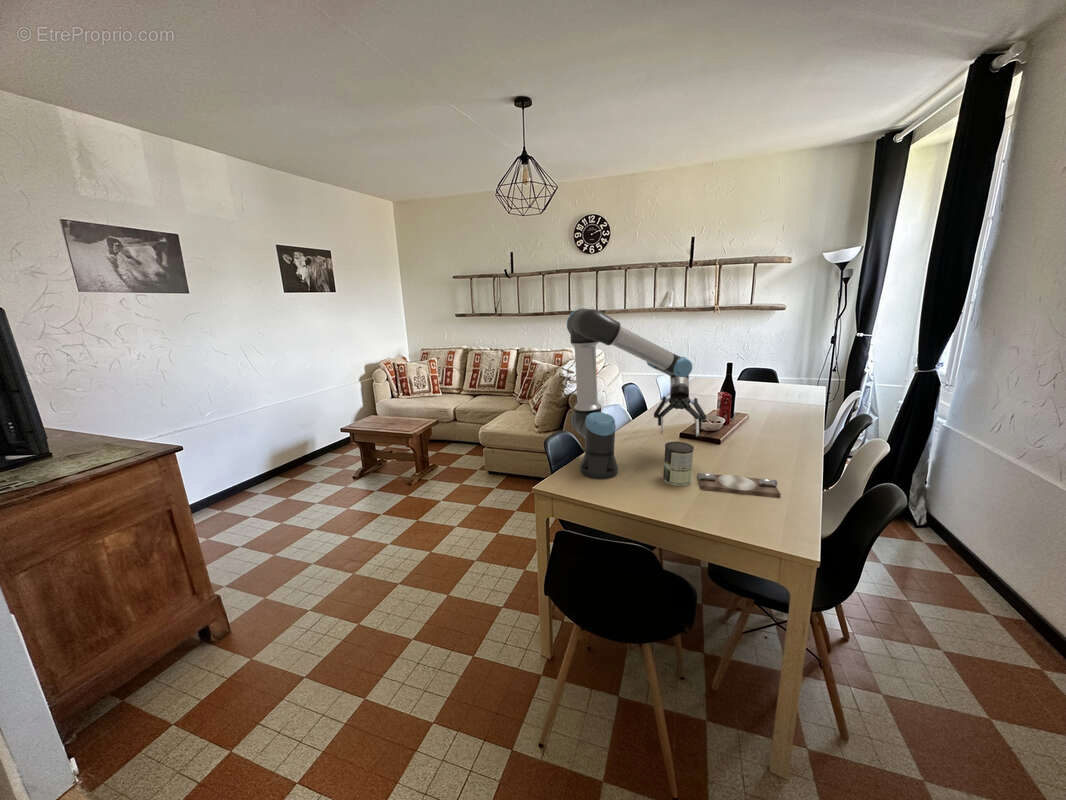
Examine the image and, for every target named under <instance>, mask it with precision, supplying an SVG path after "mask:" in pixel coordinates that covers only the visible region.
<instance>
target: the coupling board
mask: <svg viewBox="0 0 1066 800" xmlns="http://www.w3.org/2000/svg"><path fill="white" fill-rule="evenodd" d="M699 473H700V472H697V473H696V474H697V476H696V478H697V480H698V484H699V489H700V490H701V491H703V490H704V491H711V492H712V491H713V492H720V493H721V492H723V493H730V494H731V493H733V494H739V495H740V494H742V495H749V496H750V495H751V496H758V497H759V496H761V497H770V498H779V499H780V498H781V492H780V490H779V488H777V487H773V486H763V485H759V479H760V478H757V477H756V478H755V477H746V476H742V475H741V476H740V475H734V474H716V473H715V475H716V479H715V481H712V480H702V479H699Z"/></svg>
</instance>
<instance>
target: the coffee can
mask: <svg viewBox="0 0 1066 800" xmlns="http://www.w3.org/2000/svg"><path fill="white" fill-rule="evenodd" d="M694 449H695V447H694V445H693V444H691V443H688V442H685V441H684V442H683V441H668V442H667V443H665V444H664V459H663V460H664V462H663V474H662V476H663V477H662V480H663V482H665V483H666V484H668V485H672V486H676V487H685V486H688V485H690V484H691V482H692V479H691V478H692V469H693V468H692V467H693V457H694Z"/></svg>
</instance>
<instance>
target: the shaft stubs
mask: <svg viewBox="0 0 1066 800" xmlns="http://www.w3.org/2000/svg"><path fill="white" fill-rule="evenodd" d="M698 473H699V479H702V480H712V481H715V479H716V475H717V474H716V473H715V474H716V475H715V474H714V473H706V472H704V473H703V472H698ZM758 479H759V485H763V486H773V487H776V488H777V487H778V480H777V479H768V478H758Z"/></svg>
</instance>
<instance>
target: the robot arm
mask: <svg viewBox="0 0 1066 800" xmlns="http://www.w3.org/2000/svg"><path fill="white" fill-rule="evenodd" d="M566 329H567V332H568V333H569V336H570V344H571V345H572V346H573V348H574V359H575V360H574V363H575V384H576V400H577V401H576V403H575V405H574V406H573V413H572V416H571V426H572V427H573V429H574V430H575V432H576V433H578V434H579V435H580V436H581V437H582V438H583V439H584V455H583V458H582V460H581V463H580V473H581V474H582V475H583V476H585V477H587V478H592V479H598V480H604V479H605V480H606V479H611V478H614V477H616V476H618V473H619V467H618V463H617V460H616V456H615V444H616V443H615V441H616V439H615V438H616V426H617V425H616V420H615V418H614V416H612V415H611V414H608V413H605V412H602V405H601V404H600V403H599V402H598V381H597V380H598V379H597V377H598V376H597V352H596V347H597V345H598V344H599V343H601V344H603V345H606V346H608V347H609V346H614V347H615V348H618V349H620V350H622V351H624V352H626V353H628V354H629V355H632V356H634V357H636V358H638V359H640V360H643V361H645V363H646V365H647V366H648V367H650V368H652V369H655V370H657V371H659V372H661V373H663V374H666V375H668V376H669V377H670V378H669V379H670V391H669V398H668V397H666V396H662V400H661V402H660V403H659V405H657V408H656V409H655V411H654V412H653V418H656V419H657V426H660V435H662V434H663V433H664V432H663V431H664V416H666V415H667V414H668V413H669V412H670V411H672V410H673V409H675V410H686V411H687V412H688V413H689V414H690V415H691V416H692V417H693V418H694V419H695V420H696V421H695V437H699V435H700V429H701V428H702V425H703V423H702V422H704V421H706V419H707V415H706V414H705V411H704V409H702V407H701V405H700V404H699V401H698V398H697V397H694V398H693V399H692V398H691V399H690V374H691V373H692V372H693V371H692V370H693V363H692V362H691V360H690V359H688V358H687V357H685V356H680V355H678V354H675V353H673V352H671V351H669V350H668V349H665V348H664V347H662V346H660V345H657V344H656V343H654V342H652V341H650V340H648V339H646V338H644V337H642V336H640V335H639V334H636V333H634V332H632V331H631V330H628V329H627V328H625V327H623V326H622V324H621V322H619V321H617V320H616V319H614V318H612V317H610V316H608V315H607V314H605V313H603V312H602V311H600V310H598V309H594V308H578V309H575V310H573V312H571V313H570V315H568V317H567V319H566ZM667 403H669V405H667V406H666V407H665V404H667ZM690 403H691V405H690ZM692 406H693V407H694V408H693V407H692ZM664 407H665V408H664ZM663 408H664V409H663ZM662 409H663V410H662Z"/></svg>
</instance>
